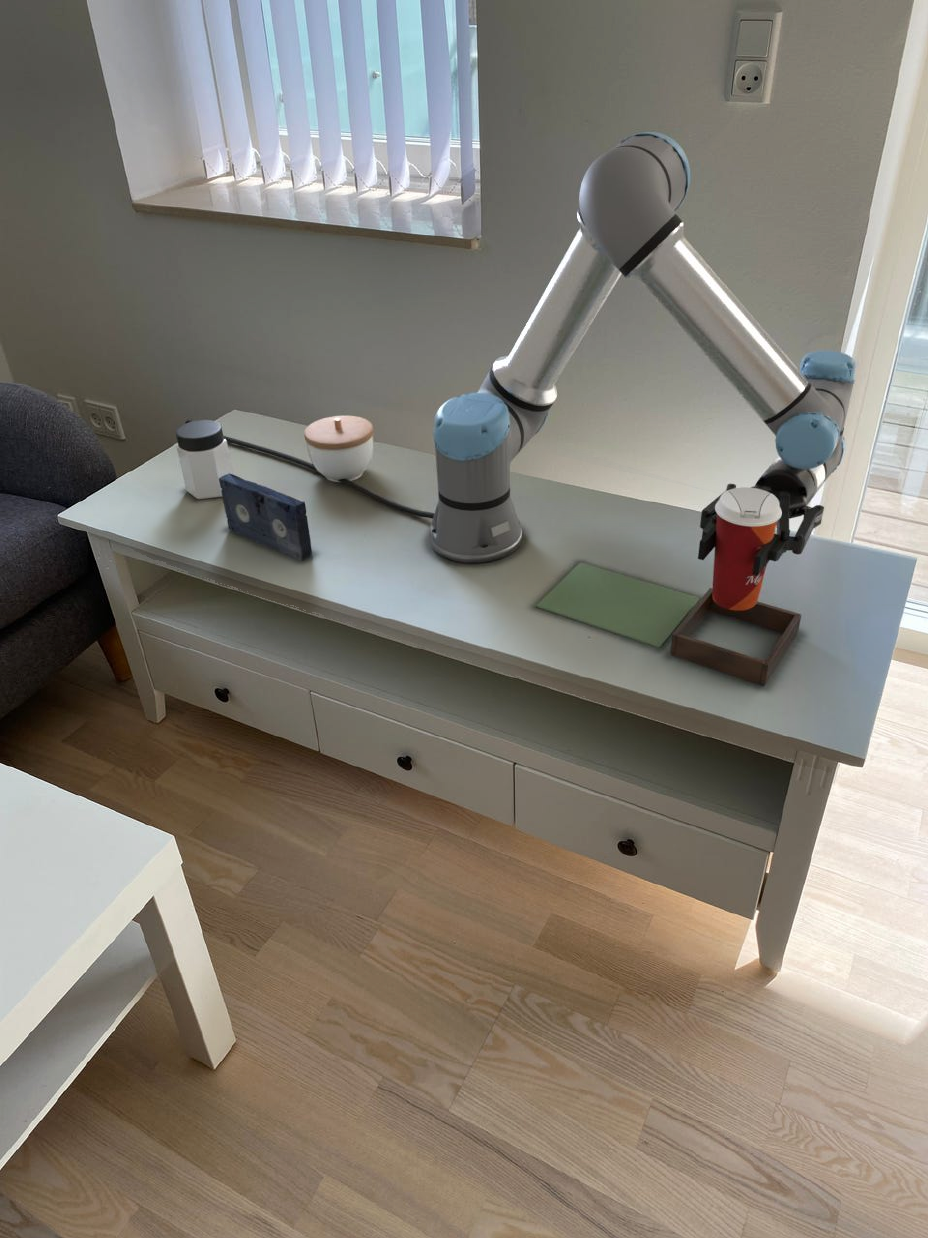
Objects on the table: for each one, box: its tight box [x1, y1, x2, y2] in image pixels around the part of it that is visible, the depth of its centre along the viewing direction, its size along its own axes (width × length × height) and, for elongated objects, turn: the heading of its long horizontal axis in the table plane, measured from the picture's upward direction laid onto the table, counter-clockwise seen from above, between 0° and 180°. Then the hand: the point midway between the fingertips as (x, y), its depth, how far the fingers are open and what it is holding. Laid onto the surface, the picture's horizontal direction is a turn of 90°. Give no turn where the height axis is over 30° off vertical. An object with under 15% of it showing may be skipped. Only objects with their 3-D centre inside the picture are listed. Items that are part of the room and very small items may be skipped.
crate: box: [669, 587, 802, 687], centre depth 135 cm, size 13×13×4 cm
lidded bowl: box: [303, 414, 375, 483], centre depth 181 cm, size 13×13×11 cm
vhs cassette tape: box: [219, 473, 313, 561], centre depth 161 cm, size 18×3×10 cm, turn 51°
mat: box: [535, 562, 700, 649], centre depth 145 cm, size 20×14×1 cm
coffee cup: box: [712, 486, 782, 611], centre depth 128 cm, size 8×8×15 cm
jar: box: [175, 419, 234, 500], centre depth 178 cm, size 9×8×12 cm
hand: (728, 558), depth 123 cm, fingers closed on coffee cup, 6 cm apart
